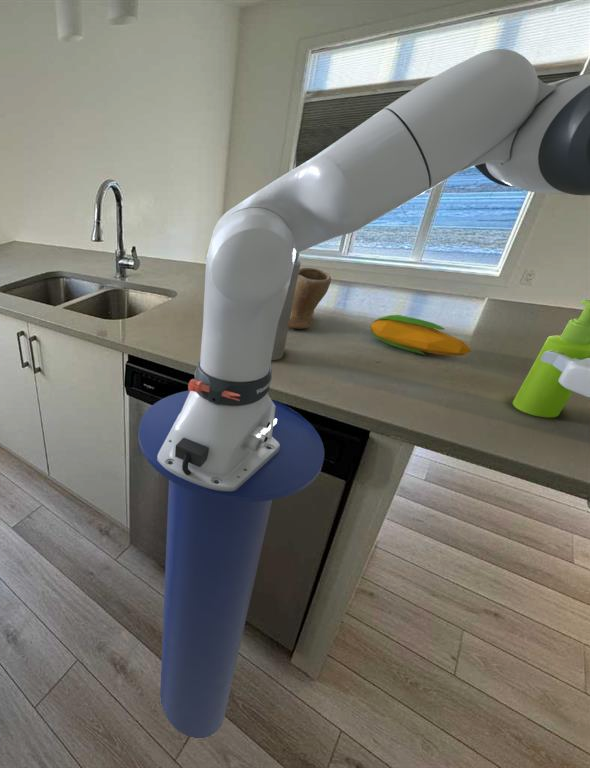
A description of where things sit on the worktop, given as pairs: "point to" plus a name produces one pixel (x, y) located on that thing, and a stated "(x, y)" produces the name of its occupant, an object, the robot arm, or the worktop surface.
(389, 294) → the worktop surface
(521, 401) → the soap dispenser
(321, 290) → the stone cup
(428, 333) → the corn
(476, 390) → the worktop surface
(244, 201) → the robot arm
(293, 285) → the thermos bottle
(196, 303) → the worktop surface
